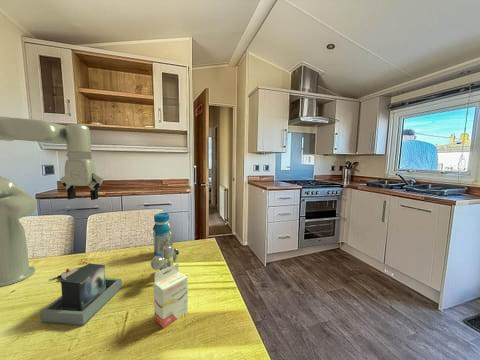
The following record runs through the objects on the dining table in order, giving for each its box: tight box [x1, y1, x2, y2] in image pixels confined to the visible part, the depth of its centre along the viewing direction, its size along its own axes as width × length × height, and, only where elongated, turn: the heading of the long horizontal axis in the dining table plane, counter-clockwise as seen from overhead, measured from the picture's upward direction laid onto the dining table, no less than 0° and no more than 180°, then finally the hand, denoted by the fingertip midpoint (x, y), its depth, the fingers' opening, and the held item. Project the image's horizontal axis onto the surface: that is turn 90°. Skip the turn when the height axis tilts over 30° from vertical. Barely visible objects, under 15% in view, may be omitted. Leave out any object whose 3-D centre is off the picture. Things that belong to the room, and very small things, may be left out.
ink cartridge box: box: [153, 262, 189, 329], centre depth 62 cm, size 9×5×15 cm, turn 141°
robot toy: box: [150, 238, 180, 275], centre depth 81 cm, size 15×6×15 cm, turn 165°
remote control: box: [49, 264, 87, 283], centre depth 83 cm, size 7×16×3 cm, turn 139°
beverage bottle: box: [152, 212, 172, 257], centre depth 100 cm, size 8×8×20 cm
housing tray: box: [39, 277, 123, 327], centre depth 67 cm, size 13×17×4 cm
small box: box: [60, 263, 106, 311], centre depth 67 cm, size 11×6×10 cm, turn 173°
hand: (83, 199), depth 84 cm, fingers open, 9 cm apart
